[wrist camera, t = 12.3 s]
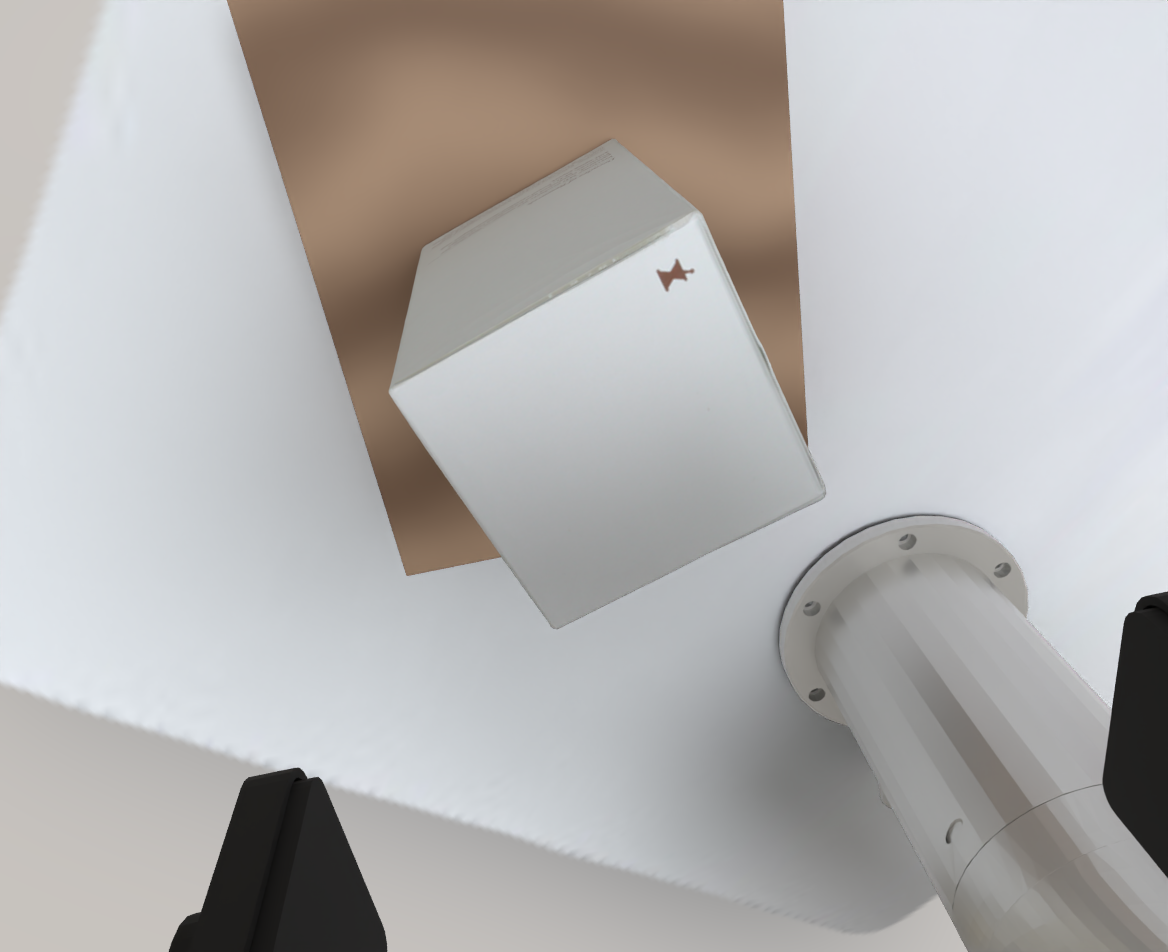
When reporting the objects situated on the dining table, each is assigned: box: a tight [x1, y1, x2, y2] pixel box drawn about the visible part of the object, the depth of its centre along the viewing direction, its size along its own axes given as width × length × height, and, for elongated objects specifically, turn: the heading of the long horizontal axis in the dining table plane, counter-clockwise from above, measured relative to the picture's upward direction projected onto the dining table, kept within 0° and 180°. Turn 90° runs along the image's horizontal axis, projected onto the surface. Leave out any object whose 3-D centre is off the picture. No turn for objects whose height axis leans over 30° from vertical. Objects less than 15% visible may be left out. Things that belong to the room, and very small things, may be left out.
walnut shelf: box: [227, 0, 808, 576], centre depth 32 cm, size 20×16×6 cm
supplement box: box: [389, 139, 826, 629], centre depth 24 cm, size 7×7×13 cm
